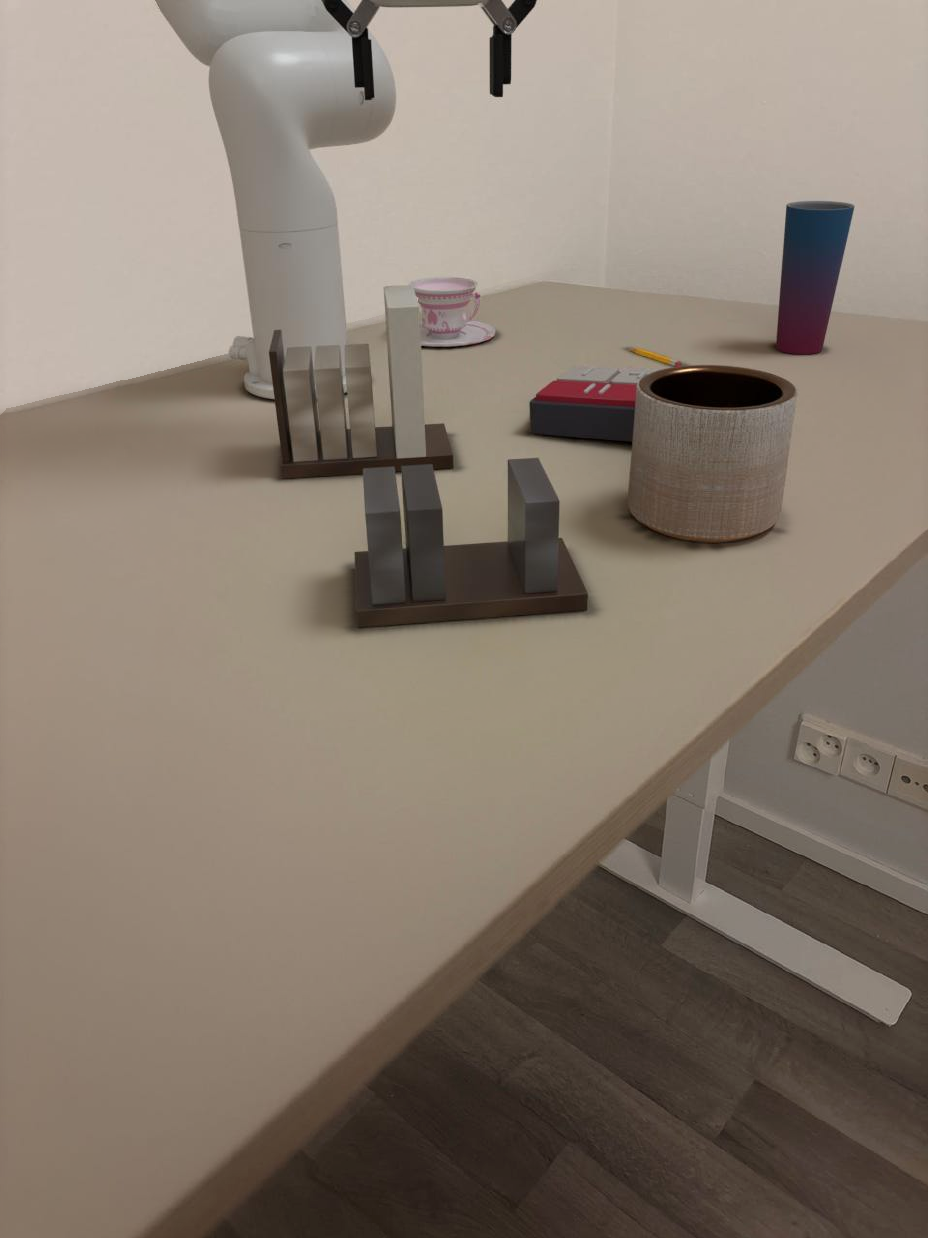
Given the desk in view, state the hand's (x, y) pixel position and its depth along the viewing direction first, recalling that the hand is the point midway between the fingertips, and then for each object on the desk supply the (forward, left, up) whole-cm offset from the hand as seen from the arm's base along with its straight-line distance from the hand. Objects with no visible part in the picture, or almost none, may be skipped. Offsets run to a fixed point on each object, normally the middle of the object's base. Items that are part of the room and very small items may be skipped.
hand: (433, 97), depth 73 cm
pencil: (+10, +32, -27) cm, 43 cm away
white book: (-1, -5, -26) cm, 26 cm away
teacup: (-16, +32, -27) cm, 45 cm away
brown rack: (-4, -7, -27) cm, 28 cm away
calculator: (+14, +9, -27) cm, 32 cm away
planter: (+25, -8, -27) cm, 38 cm away
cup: (+24, +41, -27) cm, 55 cm away
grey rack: (+14, -25, -27) cm, 39 cm away
